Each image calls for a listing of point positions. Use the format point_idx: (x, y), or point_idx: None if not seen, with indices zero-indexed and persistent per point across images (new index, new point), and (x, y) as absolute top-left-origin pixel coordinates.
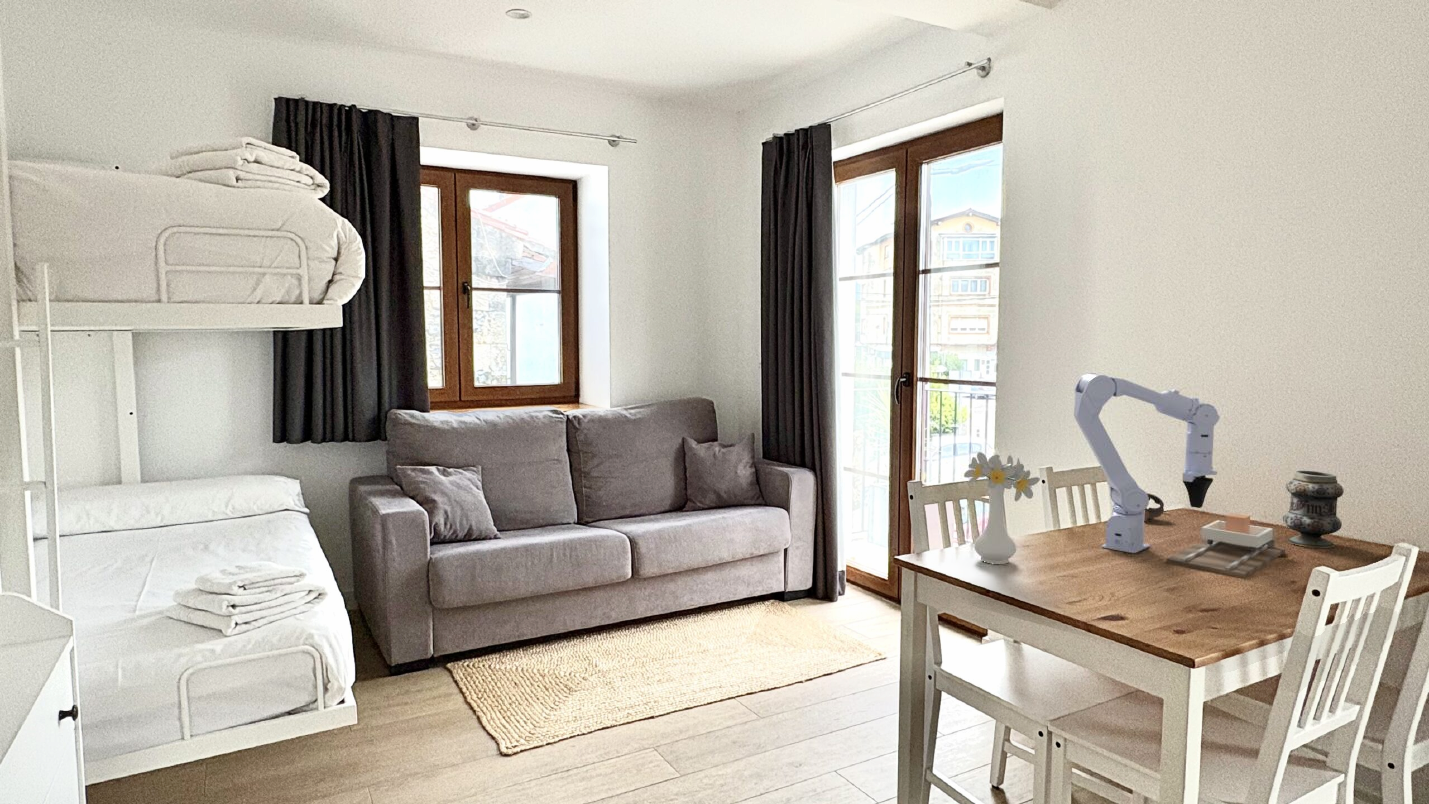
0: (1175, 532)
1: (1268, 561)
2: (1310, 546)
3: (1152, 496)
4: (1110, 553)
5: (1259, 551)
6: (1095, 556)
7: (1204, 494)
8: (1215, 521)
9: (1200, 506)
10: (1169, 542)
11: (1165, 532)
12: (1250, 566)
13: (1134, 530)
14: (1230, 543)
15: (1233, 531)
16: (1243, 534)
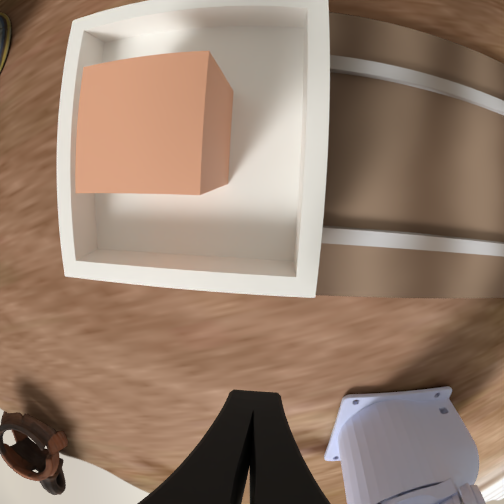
0: (86, 373)
1: None
2: (8, 34)
3: (3, 451)
4: (461, 414)
5: None
6: (493, 415)
7: (232, 475)
8: (95, 276)
9: (280, 399)
10: (228, 370)
11: (109, 394)
12: (459, 55)
13: (451, 440)
14: None
15: (225, 138)
16: (328, 61)
